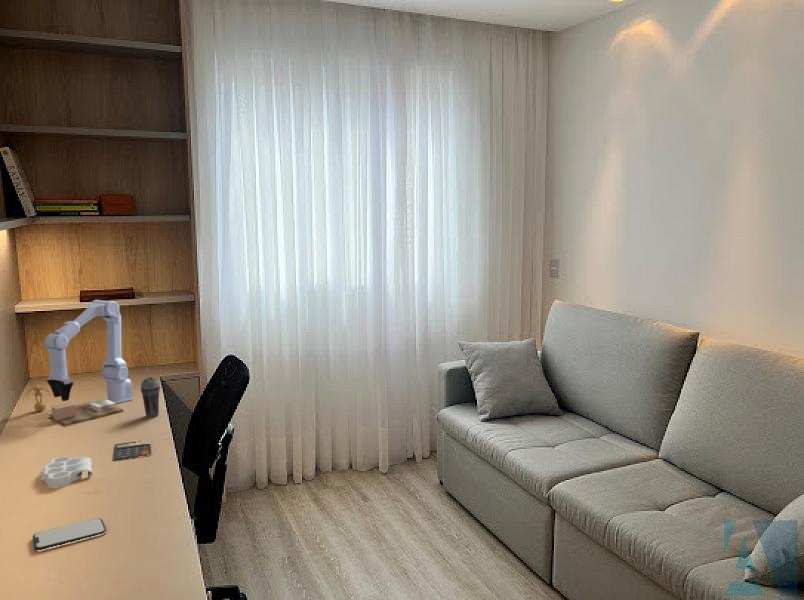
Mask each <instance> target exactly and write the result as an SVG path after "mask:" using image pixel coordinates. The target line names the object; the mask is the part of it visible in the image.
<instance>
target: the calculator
mask: <svg viewBox="0 0 804 600" xmlns="http://www.w3.org/2000/svg"><path fill="white" fill-rule="evenodd" d="M138 441H139V442H140V441H141V440H138ZM129 443H136V442H135V441H129V442H122V443H115V444H114V450H113V457H112V461H113V462H115V461H116V462H118V461H123V460H124V459H125V460H130V459H129V458H132V459H136V458H135V457H139V456H146V457H148V456H147V455H149V454H151V455H152V443H151V444H140V445H133V446H130V445H131V444H129ZM124 444H125V445H124ZM126 444H127V445H126ZM128 444H129V445H128ZM150 445H151V446H150ZM139 458H140V457H139ZM117 460H118V461H117ZM125 460H124V461H125Z"/></svg>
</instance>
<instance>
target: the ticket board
mask: <svg viewBox="0 0 804 600" xmlns="http://www.w3.org/2000/svg"><path fill="white" fill-rule="evenodd" d="M119 412H120V413H123V412H124V409H123V408H121V407H119V406H117V403H115V402H112V401H110V400H108V398H106V400H105V399H102V400H98V401H97V400H96V401H93V402H90V403H89V405H85V406H80V407H76V415H77V416H73V417H69V418H65V419H61V420H57V421H56V419H55V420H54V418H53V420H54V421H56V422H58V421H59V422H58V423H60V422H61V423H60V424H62V423H63V424H64V425H63V424H62V425H63V426H65V425H66V427H68V426H67V425H69V426H72V425H71V424H73V425H75V423H77V424H80V423H79V422H81V423H84V421H85V422H88V421H87V420H89V421H91V420H95V419H101V418H104V417H107V416H111V415H115V413H116V414H119ZM49 418H51V419H52V413H51V414H49Z"/></svg>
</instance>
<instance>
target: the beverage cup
mask: <svg viewBox="0 0 804 600" xmlns="http://www.w3.org/2000/svg"><path fill="white" fill-rule="evenodd" d="M145 370H146V371H145V372H146V378H145V379H144V380H142V382H141V384H140V392H141V394H142V399H143V406H144V413H145V417H146V418H148V417H152V418H156V417H155V416H157V417H159V412H160V411H159V409H160V389H161V386H160V385H161V384H160V382H159V380H158V379H156V378H155V377H150V375H149V371H148V367H145Z"/></svg>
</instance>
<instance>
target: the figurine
mask: <svg viewBox="0 0 804 600" xmlns="http://www.w3.org/2000/svg"><path fill="white" fill-rule="evenodd" d="M41 390H43V391H44V390H45V391H46V392H48V394H49V395H51V393H50V391H49V390H48V389H47V388H45V387H42V386H40V385H39V384H38V383H36V384H35V386H34V387H32V388H31V389H29V390H27V393H26V397H28V395H29V393H30V392H31V391H34V393H33V394H34V397H35V401H36V402H35V403H34V407H33V408H34V410H35V411H37V412H42V411H44V410H45V409H46V403H45V402H44V401H42V399H43V393H42V392H41ZM38 396H39V401H38Z"/></svg>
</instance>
